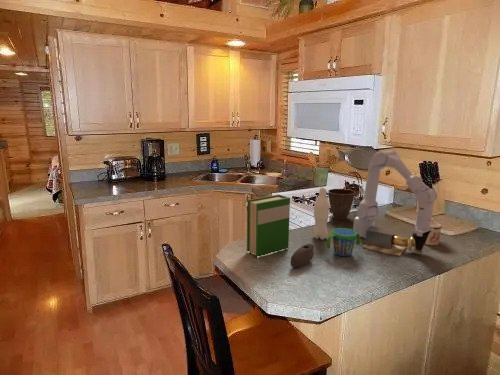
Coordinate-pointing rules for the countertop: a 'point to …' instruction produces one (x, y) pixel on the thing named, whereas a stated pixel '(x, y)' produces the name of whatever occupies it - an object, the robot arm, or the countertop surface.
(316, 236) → the water bottle
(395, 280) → the countertop surface
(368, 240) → the gunmetal housing
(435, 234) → the teacup with lid
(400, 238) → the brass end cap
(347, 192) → the plant pot
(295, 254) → the perforated stone tool
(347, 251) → the snack cup
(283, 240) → the hardback book
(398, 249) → the mounting board
